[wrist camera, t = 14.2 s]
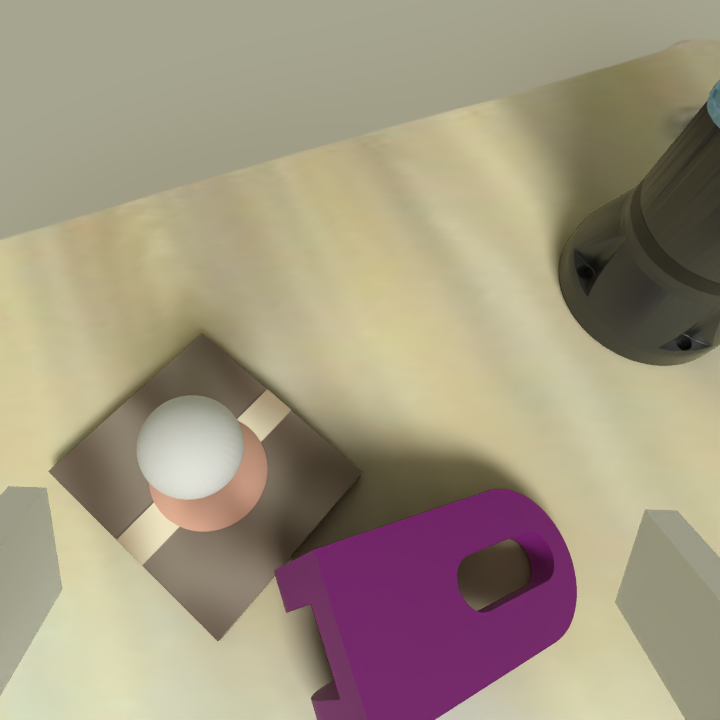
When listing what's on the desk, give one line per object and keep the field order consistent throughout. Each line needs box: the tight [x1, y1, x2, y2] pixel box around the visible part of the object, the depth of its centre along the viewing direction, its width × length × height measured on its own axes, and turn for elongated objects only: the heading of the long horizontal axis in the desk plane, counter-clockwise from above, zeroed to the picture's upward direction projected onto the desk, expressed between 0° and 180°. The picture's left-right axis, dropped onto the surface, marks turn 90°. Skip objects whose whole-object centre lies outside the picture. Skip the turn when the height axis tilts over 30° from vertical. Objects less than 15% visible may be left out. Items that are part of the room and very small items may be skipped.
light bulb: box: [136, 395, 244, 500], centre depth 34 cm, size 6×6×10 cm
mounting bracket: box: [274, 489, 577, 720], centre depth 37 cm, size 10×9×19 cm
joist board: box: [49, 333, 362, 641], centre depth 39 cm, size 14×16×1 cm
